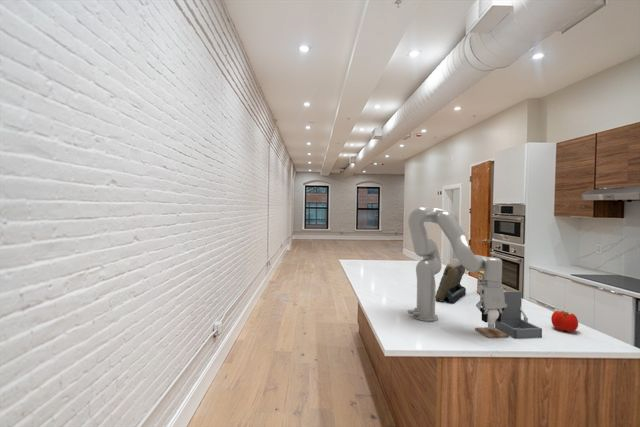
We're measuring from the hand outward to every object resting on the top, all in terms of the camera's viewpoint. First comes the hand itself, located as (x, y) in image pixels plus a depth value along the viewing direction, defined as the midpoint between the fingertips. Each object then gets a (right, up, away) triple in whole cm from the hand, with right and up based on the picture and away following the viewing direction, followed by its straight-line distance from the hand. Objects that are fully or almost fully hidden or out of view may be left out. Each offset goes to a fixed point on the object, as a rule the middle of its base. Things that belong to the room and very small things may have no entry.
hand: (491, 320), depth 149 cm
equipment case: (+14, -6, +2) cm, 15 cm away
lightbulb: (0, -4, 0) cm, 4 cm away
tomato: (+40, -7, +6) cm, 41 cm away
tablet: (+7, -6, +61) cm, 61 cm away
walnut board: (0, -6, 0) cm, 6 cm away
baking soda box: (+33, -6, +69) cm, 76 cm away
